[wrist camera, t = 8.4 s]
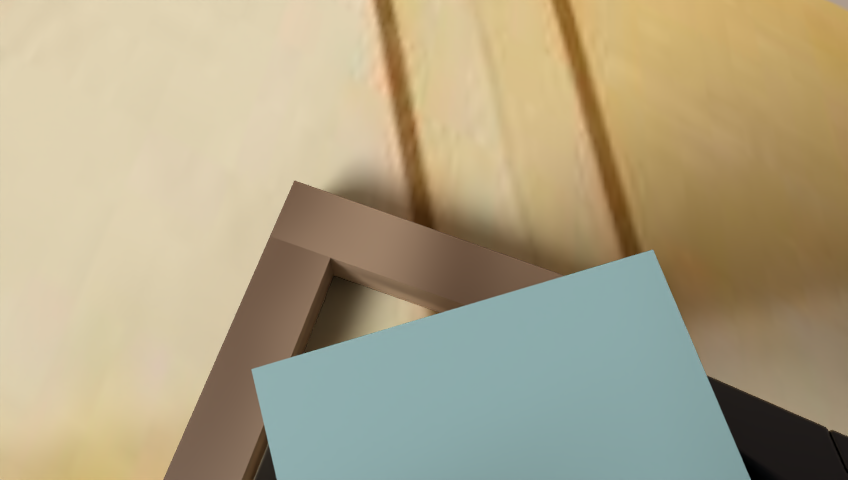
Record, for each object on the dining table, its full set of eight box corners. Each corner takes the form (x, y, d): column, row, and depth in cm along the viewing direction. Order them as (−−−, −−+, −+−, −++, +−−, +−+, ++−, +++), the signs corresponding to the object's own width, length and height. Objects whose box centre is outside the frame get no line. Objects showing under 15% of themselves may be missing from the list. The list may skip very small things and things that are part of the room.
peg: (537, 520, 15) (842, 695, 6) (367, 584, 14) (377, 919, 5) (481, 349, 16) (653, 248, 7) (319, 399, 15) (251, 368, 6)
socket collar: (639, 325, 22) (674, 314, 19) (548, 736, 18) (578, 787, 15) (302, 206, 21) (294, 180, 19) (136, 592, 18) (101, 620, 15)
